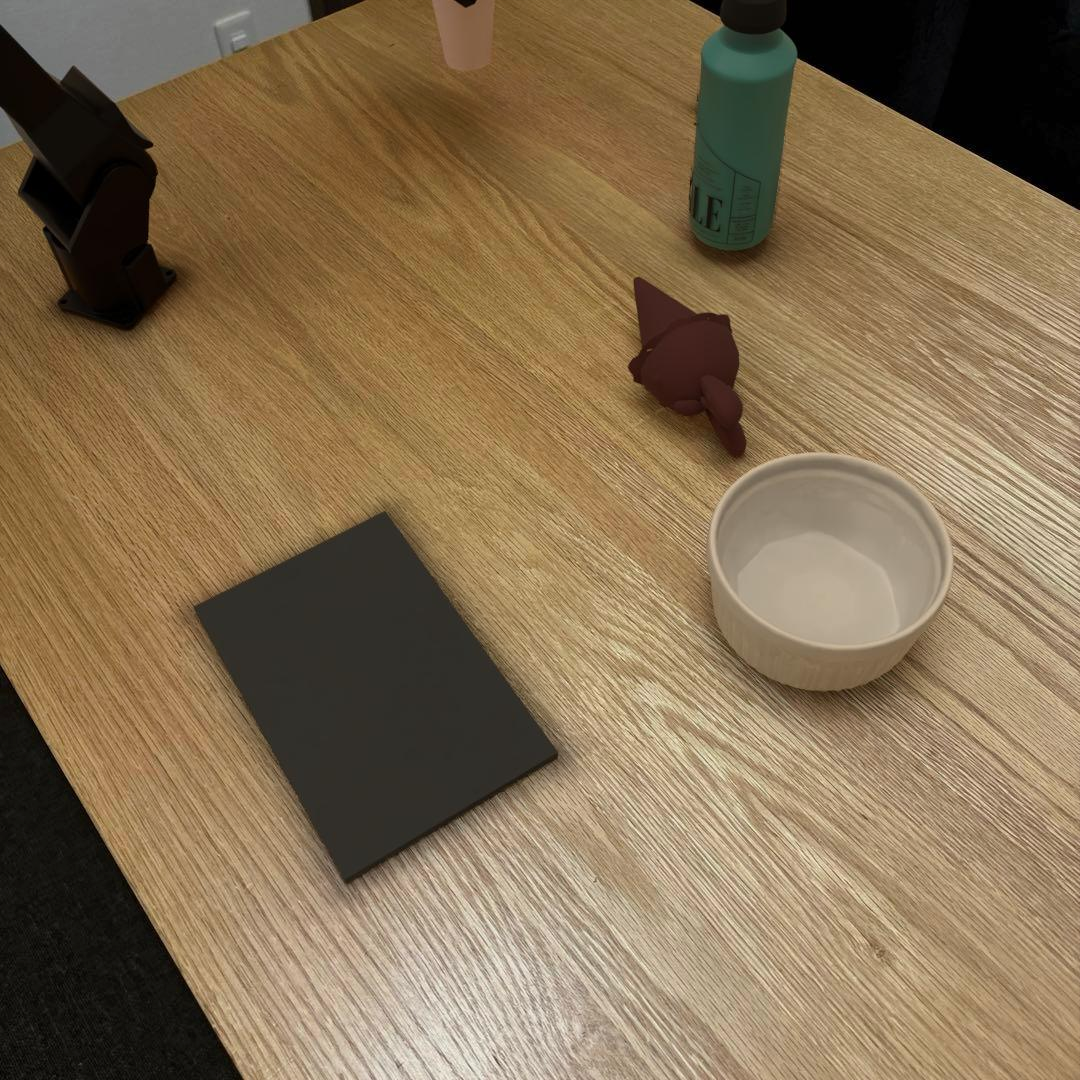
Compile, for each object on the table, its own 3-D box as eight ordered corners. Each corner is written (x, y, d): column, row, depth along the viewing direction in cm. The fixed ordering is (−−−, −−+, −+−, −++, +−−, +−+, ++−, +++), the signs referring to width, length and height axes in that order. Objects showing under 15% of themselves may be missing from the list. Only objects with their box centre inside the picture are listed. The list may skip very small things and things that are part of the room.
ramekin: (927, 729, 65) (959, 665, 60) (687, 696, 67) (696, 630, 61) (924, 537, 73) (952, 464, 67) (708, 512, 75) (718, 438, 69)
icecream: (577, 271, 79) (677, 439, 72) (677, 220, 79) (787, 384, 71) (597, 331, 85) (691, 492, 78) (690, 285, 85) (793, 441, 78)
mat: (195, 611, 71) (192, 606, 71) (386, 516, 75) (385, 510, 75) (346, 884, 61) (344, 880, 61) (558, 757, 65) (558, 752, 64)
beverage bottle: (786, 229, 90) (828, -28, 74) (746, 280, 87) (782, 23, 71) (709, 202, 93) (734, -54, 76) (668, 251, 89) (685, -5, 73)
